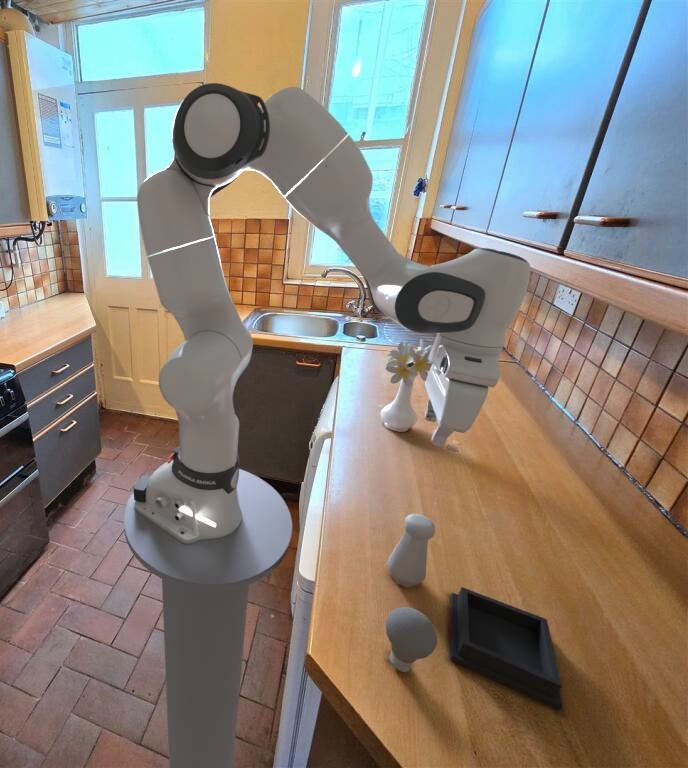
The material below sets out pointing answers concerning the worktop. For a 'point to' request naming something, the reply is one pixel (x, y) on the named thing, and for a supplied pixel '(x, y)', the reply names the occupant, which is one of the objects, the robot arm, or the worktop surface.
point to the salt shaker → (411, 551)
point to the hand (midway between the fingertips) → (432, 430)
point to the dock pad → (505, 645)
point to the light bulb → (409, 637)
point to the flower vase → (405, 384)
